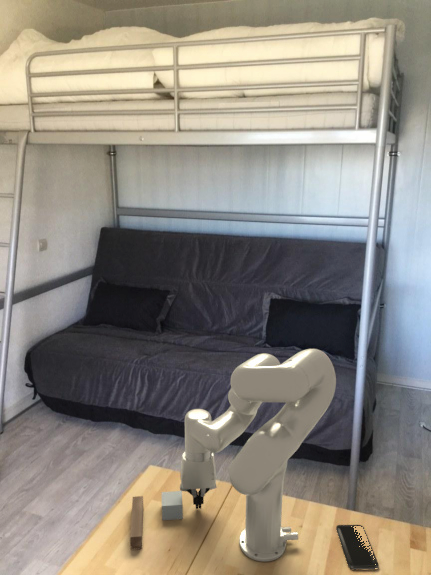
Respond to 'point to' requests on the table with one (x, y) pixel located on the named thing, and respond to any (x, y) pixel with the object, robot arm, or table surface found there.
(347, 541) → the phone
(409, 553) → the table surface
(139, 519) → the brown wooden bar
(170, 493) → the block
